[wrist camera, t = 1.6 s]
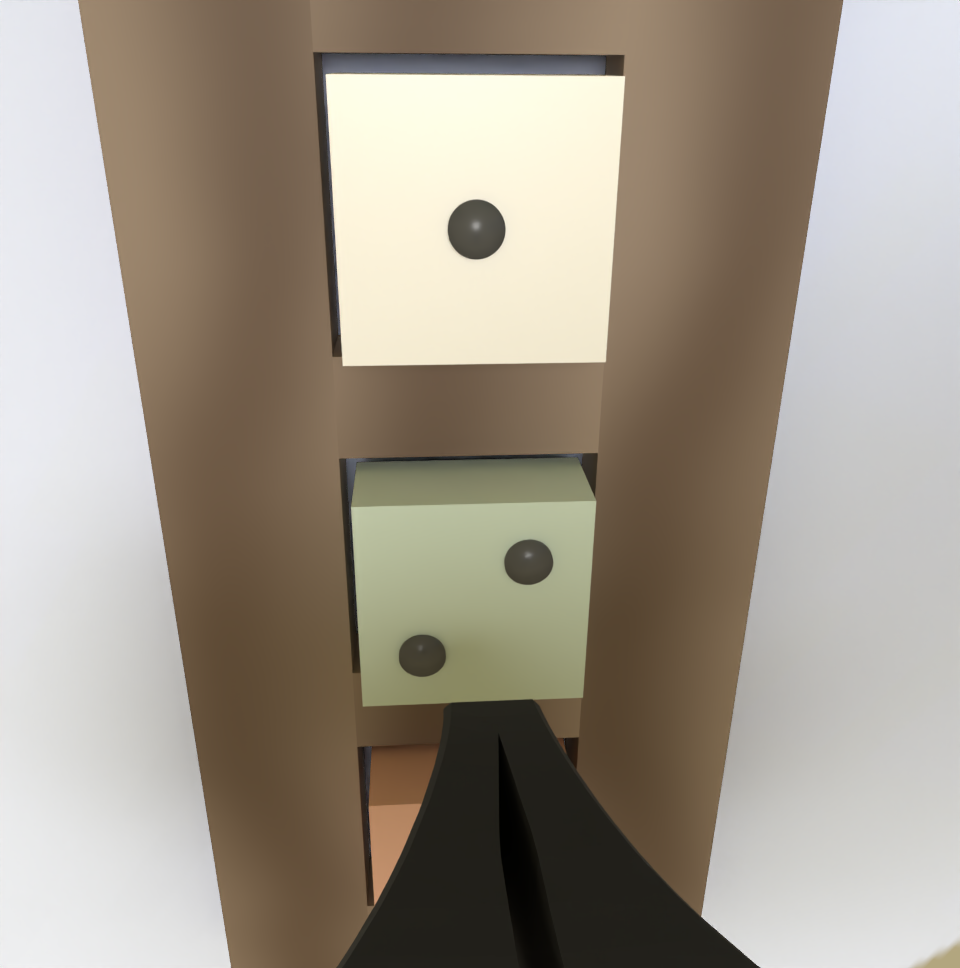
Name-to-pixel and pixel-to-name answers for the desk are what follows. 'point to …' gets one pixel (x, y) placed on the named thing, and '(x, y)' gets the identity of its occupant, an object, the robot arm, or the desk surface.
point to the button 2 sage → (472, 579)
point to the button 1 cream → (474, 215)
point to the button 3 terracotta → (397, 801)
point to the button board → (449, 406)
